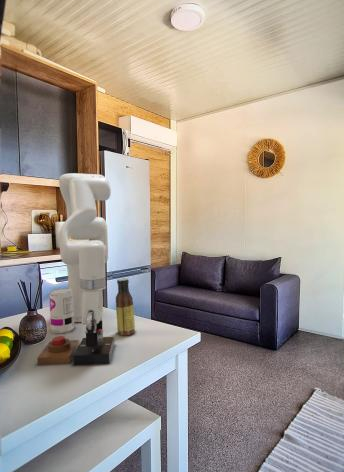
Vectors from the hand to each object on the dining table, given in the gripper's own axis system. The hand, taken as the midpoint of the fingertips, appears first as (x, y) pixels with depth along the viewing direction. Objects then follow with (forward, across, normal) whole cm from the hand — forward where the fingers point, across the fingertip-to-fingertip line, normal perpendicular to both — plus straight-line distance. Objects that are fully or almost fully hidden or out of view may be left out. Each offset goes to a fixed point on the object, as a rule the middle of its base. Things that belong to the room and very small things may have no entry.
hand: (94, 338), depth 94 cm
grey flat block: (+2, 0, 0) cm, 2 cm away
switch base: (+5, 0, 0) cm, 5 cm away
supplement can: (+5, -23, -16) cm, 28 cm away
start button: (+1, -1, -11) cm, 11 cm away
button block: (+5, -1, -11) cm, 12 cm away
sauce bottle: (+5, -17, +8) cm, 19 cm away
